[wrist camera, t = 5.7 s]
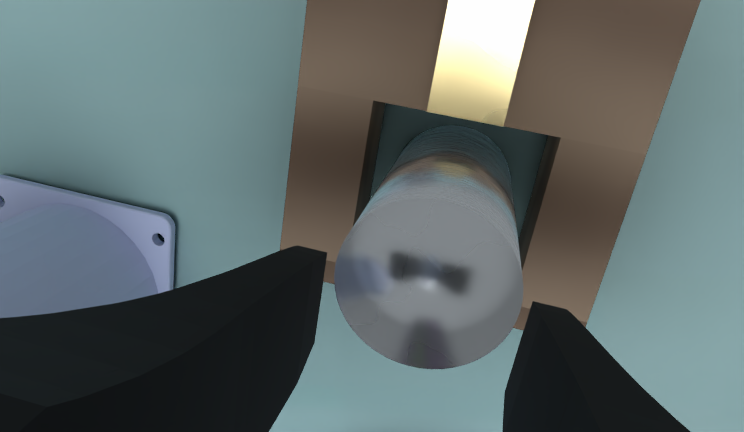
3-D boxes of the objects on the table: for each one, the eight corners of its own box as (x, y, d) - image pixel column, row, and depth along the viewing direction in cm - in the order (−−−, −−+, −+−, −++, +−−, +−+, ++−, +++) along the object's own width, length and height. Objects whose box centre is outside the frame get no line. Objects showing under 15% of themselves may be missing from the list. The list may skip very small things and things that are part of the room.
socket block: (569, 305, 20) (579, 344, 17) (301, 242, 21) (277, 270, 19) (693, -68, 15) (729, -83, 13) (345, -119, 17) (322, -140, 14)
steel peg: (495, 248, 20) (497, 388, 12) (385, 223, 20) (323, 343, 13) (524, 138, 18) (546, 222, 11) (404, 114, 19) (348, 179, 11)
